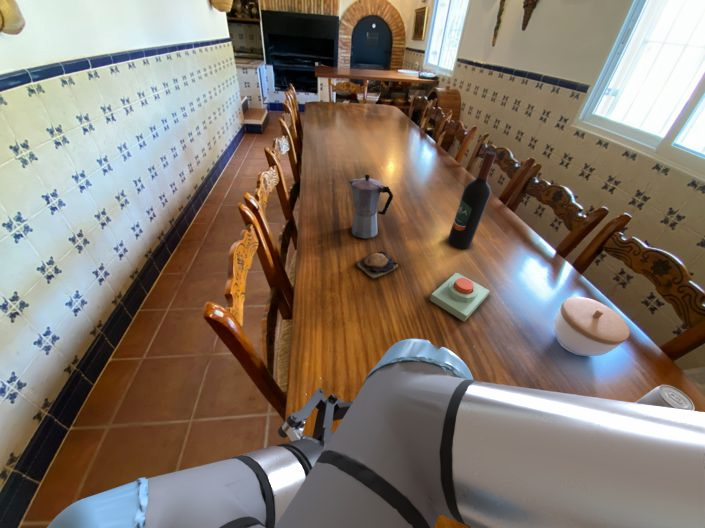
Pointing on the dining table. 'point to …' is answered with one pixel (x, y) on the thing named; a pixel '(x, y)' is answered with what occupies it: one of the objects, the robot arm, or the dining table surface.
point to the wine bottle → (472, 206)
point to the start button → (463, 286)
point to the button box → (459, 298)
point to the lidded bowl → (589, 327)
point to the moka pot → (367, 205)
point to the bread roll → (377, 264)
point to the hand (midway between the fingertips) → (385, 447)
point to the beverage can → (667, 398)
